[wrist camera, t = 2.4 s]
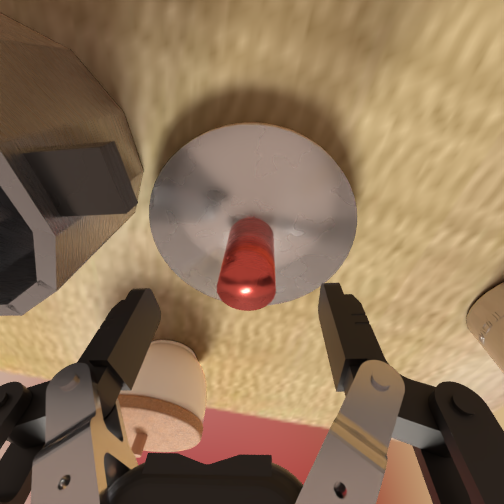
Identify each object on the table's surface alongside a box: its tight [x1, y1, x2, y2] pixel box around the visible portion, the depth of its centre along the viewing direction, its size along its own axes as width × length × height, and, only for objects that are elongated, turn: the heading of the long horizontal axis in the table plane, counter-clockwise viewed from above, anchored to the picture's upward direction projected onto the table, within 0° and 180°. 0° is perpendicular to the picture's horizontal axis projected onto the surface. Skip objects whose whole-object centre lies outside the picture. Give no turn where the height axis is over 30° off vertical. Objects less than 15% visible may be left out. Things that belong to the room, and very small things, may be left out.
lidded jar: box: [117, 340, 207, 457], centre depth 25 cm, size 11×11×9 cm
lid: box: [149, 122, 357, 311], centre depth 15 cm, size 14×14×7 cm
